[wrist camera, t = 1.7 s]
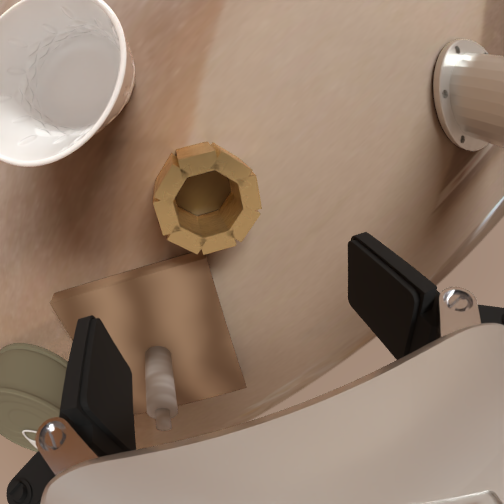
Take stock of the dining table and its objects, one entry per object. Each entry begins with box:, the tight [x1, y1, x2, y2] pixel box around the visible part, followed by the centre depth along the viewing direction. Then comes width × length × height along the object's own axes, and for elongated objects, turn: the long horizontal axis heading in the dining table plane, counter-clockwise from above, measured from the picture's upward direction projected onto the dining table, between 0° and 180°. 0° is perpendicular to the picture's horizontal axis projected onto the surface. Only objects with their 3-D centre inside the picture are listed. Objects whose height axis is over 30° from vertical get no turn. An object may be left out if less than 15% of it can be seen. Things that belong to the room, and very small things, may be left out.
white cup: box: [0, 0, 135, 167], centre depth 13 cm, size 8×8×10 cm
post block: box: [50, 250, 247, 431], centre depth 25 cm, size 14×17×10 cm
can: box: [0, 343, 68, 452], centre depth 25 cm, size 12×12×7 cm
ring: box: [153, 142, 262, 255], centre depth 21 cm, size 7×7×4 cm
